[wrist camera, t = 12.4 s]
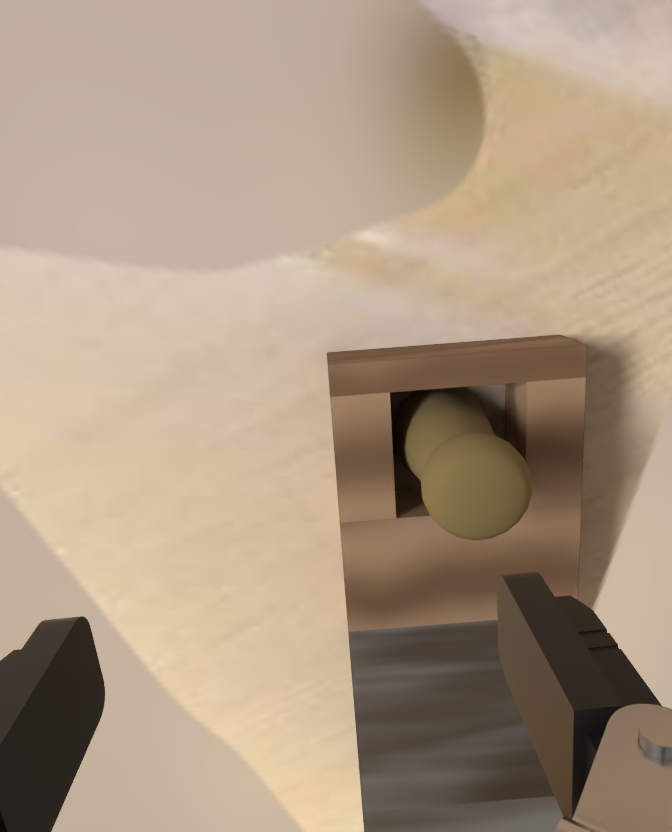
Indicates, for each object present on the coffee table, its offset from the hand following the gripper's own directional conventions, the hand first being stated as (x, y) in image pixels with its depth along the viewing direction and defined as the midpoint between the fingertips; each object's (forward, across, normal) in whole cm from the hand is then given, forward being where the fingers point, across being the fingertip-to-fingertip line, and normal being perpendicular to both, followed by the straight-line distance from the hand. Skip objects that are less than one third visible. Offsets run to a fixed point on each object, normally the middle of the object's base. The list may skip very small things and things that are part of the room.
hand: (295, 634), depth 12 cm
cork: (+26, -8, +5) cm, 28 cm away
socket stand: (+26, -8, +9) cm, 29 cm away
